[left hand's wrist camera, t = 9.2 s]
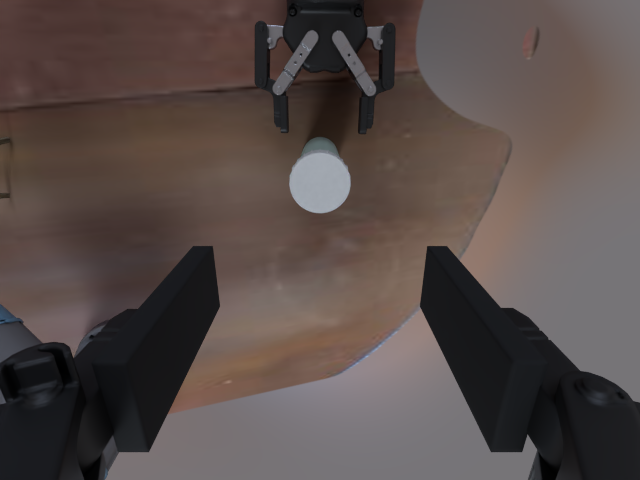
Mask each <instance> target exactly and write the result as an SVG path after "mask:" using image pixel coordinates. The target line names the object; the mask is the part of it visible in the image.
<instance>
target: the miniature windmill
mask: <svg viewBox="0 0 640 480" xmlns="http://www.w3.org/2000/svg"><path fill="white" fill-rule="evenodd" d="M9 142H10V138H9V137H4V138H0V144H4V143H9ZM0 198H10V194H9V193H0Z"/></svg>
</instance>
